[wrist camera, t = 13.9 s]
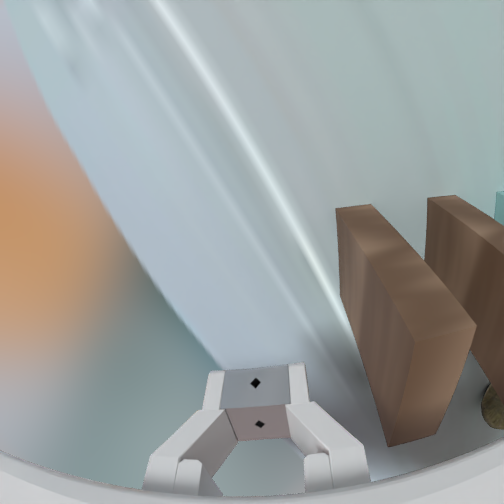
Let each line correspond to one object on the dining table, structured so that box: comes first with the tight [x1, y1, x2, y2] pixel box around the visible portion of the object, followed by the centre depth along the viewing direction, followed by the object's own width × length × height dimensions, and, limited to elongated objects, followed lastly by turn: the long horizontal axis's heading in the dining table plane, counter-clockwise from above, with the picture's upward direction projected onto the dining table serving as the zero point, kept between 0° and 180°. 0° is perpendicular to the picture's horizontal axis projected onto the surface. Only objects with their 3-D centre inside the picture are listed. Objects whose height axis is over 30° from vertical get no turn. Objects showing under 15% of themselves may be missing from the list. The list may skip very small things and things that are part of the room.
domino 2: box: [424, 195, 504, 405], centre depth 11 cm, size 2×5×10 cm, turn 9°
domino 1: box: [336, 204, 477, 447], centre depth 12 cm, size 2×5×10 cm, turn 9°
